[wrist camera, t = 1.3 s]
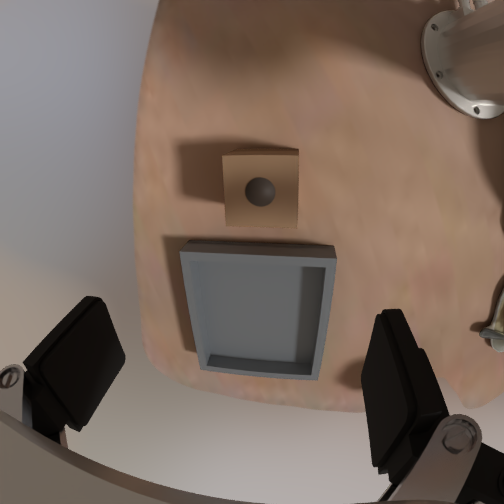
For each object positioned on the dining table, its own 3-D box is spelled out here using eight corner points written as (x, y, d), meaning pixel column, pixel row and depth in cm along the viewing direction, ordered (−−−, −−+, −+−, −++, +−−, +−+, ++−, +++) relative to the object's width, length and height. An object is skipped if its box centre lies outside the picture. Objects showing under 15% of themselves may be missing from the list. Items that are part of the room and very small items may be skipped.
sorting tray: (189, 240, 33) (179, 251, 30) (334, 246, 30) (336, 258, 27) (206, 354, 40) (200, 369, 38) (317, 364, 38) (317, 380, 35)
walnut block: (237, 148, 28) (221, 155, 22) (298, 149, 27) (298, 155, 21) (239, 206, 30) (225, 226, 25) (298, 207, 29) (297, 228, 24)
